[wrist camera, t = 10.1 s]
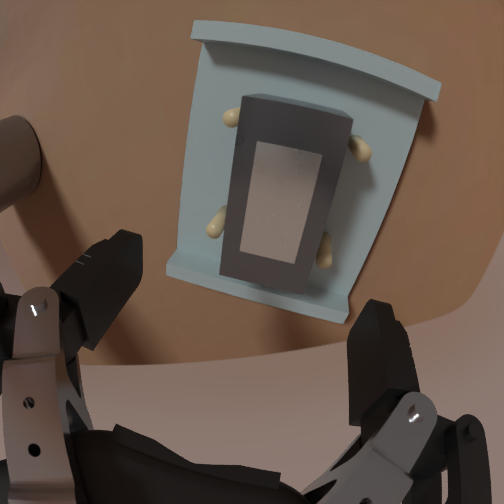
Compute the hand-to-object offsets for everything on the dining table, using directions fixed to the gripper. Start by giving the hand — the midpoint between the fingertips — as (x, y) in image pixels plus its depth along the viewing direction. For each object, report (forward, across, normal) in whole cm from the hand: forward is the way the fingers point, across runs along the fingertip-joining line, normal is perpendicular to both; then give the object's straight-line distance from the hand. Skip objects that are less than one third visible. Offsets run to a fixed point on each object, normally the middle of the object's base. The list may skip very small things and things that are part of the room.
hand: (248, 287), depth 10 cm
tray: (+12, 0, 0) cm, 12 cm away
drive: (+11, 0, -1) cm, 11 cm away
